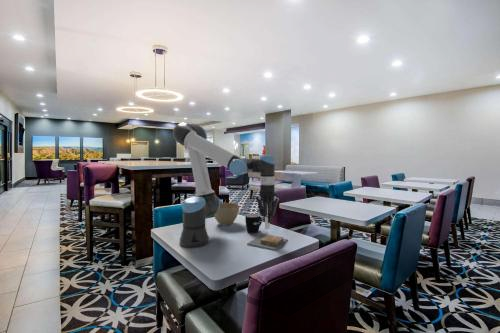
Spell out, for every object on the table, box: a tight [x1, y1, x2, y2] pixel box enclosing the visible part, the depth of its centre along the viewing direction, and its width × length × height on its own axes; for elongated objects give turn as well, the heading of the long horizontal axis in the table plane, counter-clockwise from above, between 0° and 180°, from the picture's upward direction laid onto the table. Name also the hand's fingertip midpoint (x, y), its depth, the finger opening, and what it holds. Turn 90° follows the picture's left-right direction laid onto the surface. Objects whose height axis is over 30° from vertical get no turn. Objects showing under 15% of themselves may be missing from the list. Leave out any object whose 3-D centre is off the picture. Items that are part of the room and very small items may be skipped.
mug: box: [244, 212, 263, 234], centre depth 149 cm, size 12×9×10 cm
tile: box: [261, 234, 285, 247], centre depth 129 cm, size 2×9×9 cm
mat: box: [246, 234, 288, 252], centre depth 131 cm, size 16×16×1 cm
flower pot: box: [213, 202, 240, 226], centre depth 164 cm, size 18×18×12 cm
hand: (267, 228), depth 130 cm, fingers closed
